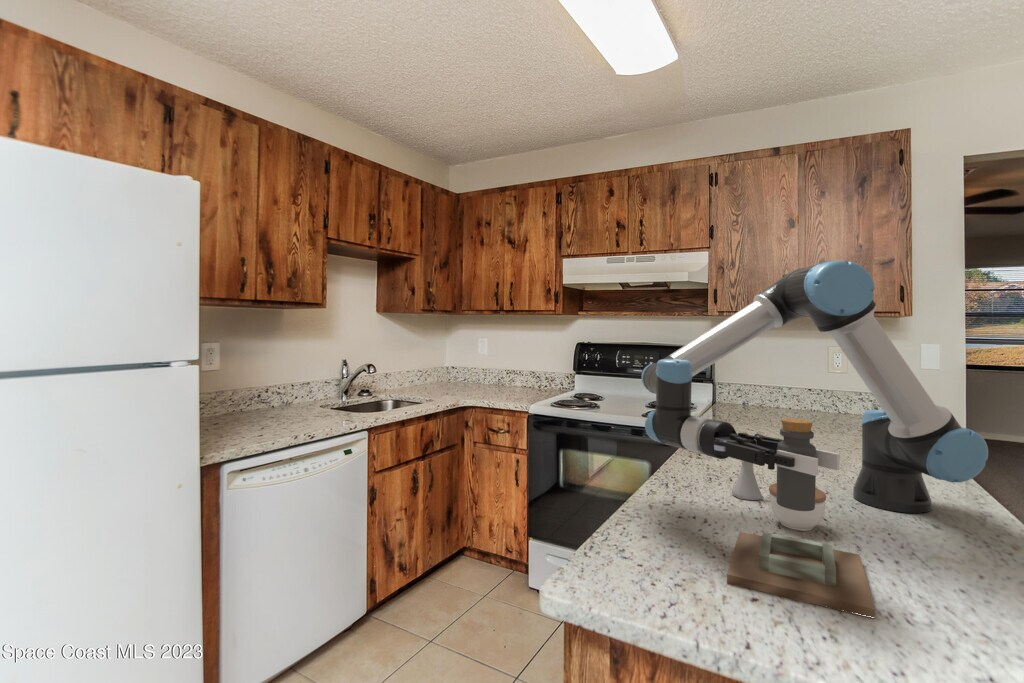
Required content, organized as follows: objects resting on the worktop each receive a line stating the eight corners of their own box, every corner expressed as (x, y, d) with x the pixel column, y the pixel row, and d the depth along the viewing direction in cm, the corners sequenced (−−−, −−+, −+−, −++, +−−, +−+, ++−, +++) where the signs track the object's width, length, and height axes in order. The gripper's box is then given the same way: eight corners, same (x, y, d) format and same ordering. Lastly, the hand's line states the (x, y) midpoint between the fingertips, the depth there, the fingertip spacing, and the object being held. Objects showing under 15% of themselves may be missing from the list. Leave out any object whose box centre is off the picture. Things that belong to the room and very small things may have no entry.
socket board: (859, 562, 87) (860, 541, 87) (874, 619, 70) (875, 592, 70) (739, 538, 98) (739, 519, 98) (726, 582, 81) (727, 559, 80)
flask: (756, 492, 126) (756, 454, 126) (767, 501, 119) (768, 461, 119) (727, 491, 127) (727, 453, 127) (737, 500, 120) (737, 461, 120)
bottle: (769, 500, 86) (770, 417, 86) (799, 499, 87) (801, 417, 87) (790, 512, 81) (792, 423, 80) (823, 511, 81) (824, 423, 81)
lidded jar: (806, 539, 97) (806, 493, 97) (758, 521, 107) (758, 479, 107) (836, 529, 102) (836, 485, 102) (787, 512, 112) (788, 472, 112)
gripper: (738, 450, 104) (857, 478, 84) (677, 460, 95) (794, 496, 75) (738, 415, 104) (857, 436, 84) (677, 423, 95) (795, 448, 74)
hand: (827, 464), depth 79 cm, fingers closed on bottle, 6 cm apart
